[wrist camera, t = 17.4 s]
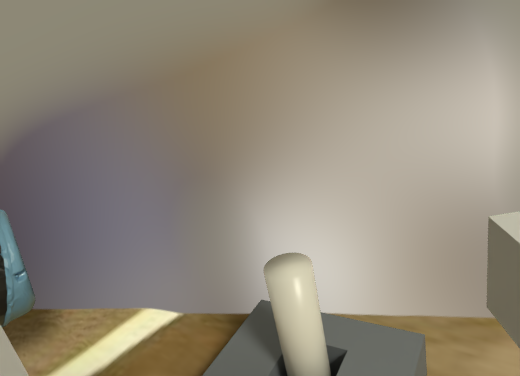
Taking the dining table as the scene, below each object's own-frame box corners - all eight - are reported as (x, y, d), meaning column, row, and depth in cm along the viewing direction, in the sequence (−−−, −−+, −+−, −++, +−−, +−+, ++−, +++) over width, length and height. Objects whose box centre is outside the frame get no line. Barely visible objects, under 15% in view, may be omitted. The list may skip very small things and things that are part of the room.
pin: (286, 407, 38) (254, 277, 33) (303, 374, 41) (277, 250, 36) (325, 421, 36) (299, 285, 30) (340, 386, 39) (319, 256, 34)
